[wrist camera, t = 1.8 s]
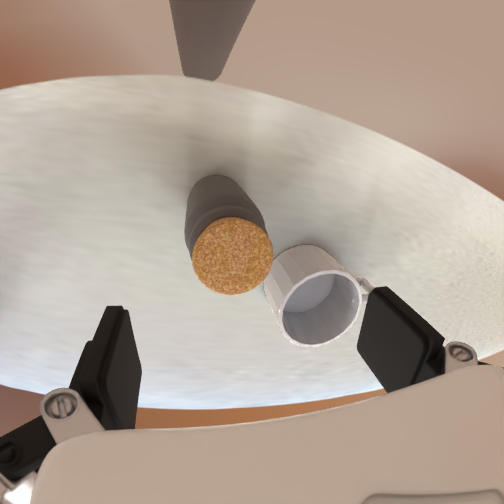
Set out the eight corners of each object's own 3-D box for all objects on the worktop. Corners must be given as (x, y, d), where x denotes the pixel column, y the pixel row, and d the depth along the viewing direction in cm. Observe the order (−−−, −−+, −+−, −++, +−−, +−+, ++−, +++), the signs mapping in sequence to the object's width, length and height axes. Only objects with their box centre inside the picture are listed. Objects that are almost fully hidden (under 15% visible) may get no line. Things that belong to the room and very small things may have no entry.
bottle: (247, 177, 31) (291, 214, 17) (239, 231, 33) (273, 305, 19) (190, 172, 30) (186, 204, 16) (185, 227, 32) (179, 301, 18)
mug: (262, 316, 37) (275, 352, 31) (265, 246, 34) (281, 273, 28) (353, 306, 40) (378, 335, 33) (364, 242, 36) (396, 264, 30)
